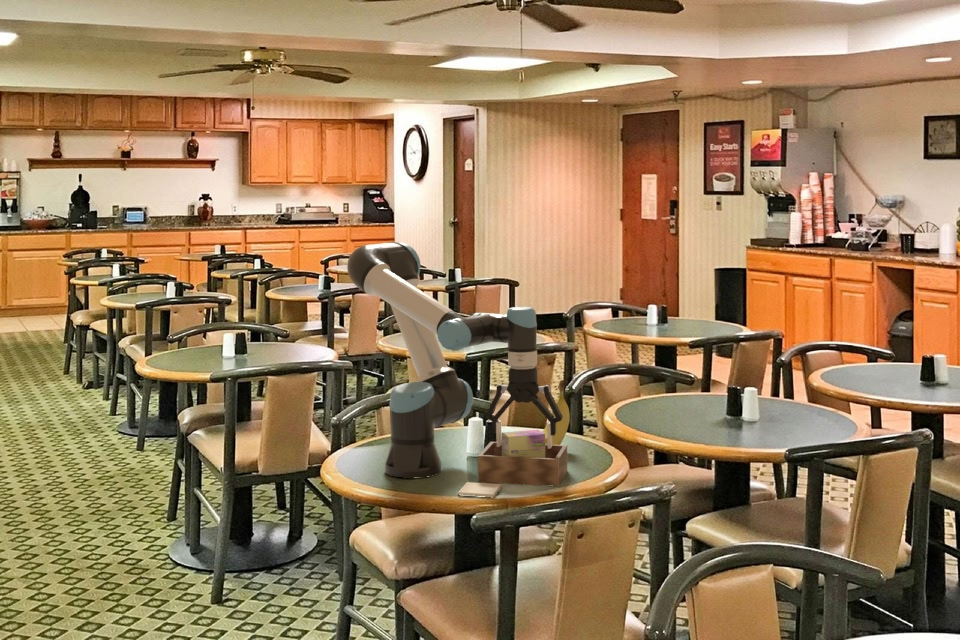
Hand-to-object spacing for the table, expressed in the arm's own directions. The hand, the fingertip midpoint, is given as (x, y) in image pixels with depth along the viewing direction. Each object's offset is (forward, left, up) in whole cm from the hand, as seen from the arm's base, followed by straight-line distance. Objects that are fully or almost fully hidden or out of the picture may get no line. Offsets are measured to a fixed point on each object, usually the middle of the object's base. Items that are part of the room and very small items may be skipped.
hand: (524, 446), depth 282 cm
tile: (-8, -16, -8) cm, 20 cm away
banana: (+2, +23, -8) cm, 25 cm away
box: (0, 0, -8) cm, 8 cm away
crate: (0, 0, -8) cm, 8 cm away
